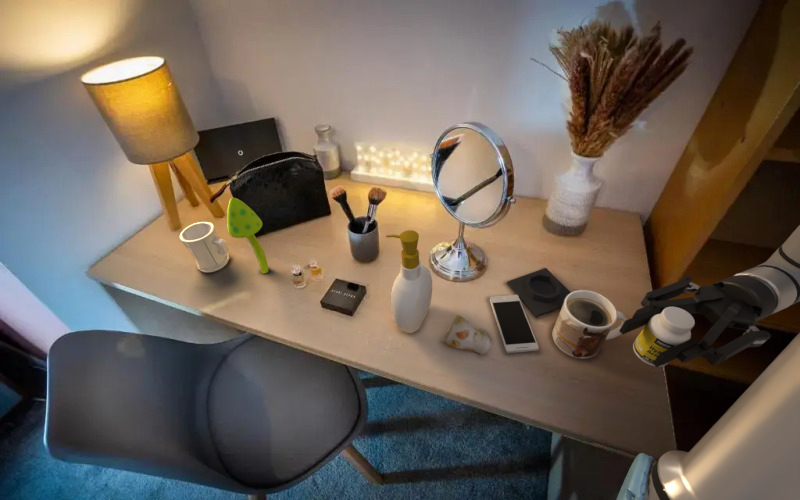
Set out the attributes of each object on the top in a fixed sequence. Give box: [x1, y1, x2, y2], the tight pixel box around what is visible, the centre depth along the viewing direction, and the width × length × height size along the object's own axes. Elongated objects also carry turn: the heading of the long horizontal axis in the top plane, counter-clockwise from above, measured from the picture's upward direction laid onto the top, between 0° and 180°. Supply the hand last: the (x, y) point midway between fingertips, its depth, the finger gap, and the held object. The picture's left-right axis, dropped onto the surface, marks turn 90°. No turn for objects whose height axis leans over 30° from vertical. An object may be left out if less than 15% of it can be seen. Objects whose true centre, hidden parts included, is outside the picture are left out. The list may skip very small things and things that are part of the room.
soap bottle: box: [385, 229, 433, 334], centre depth 76 cm, size 14×9×26 cm, turn 158°
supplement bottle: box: [632, 307, 696, 368], centre depth 55 cm, size 5×5×10 cm
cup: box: [178, 221, 230, 273], centre depth 100 cm, size 10×9×12 cm
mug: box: [551, 289, 628, 359], centre depth 74 cm, size 10×12×11 cm
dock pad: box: [506, 267, 572, 319], centre depth 87 cm, size 12×12×3 cm
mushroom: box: [226, 197, 269, 274], centre depth 92 cm, size 8×8×25 cm
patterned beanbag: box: [443, 314, 492, 355], centre depth 77 cm, size 8×10×10 cm
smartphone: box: [489, 294, 540, 354], centre depth 82 cm, size 7×16×1 cm, turn 3°
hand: (640, 343), depth 53 cm, fingers closed on supplement bottle, 5 cm apart
